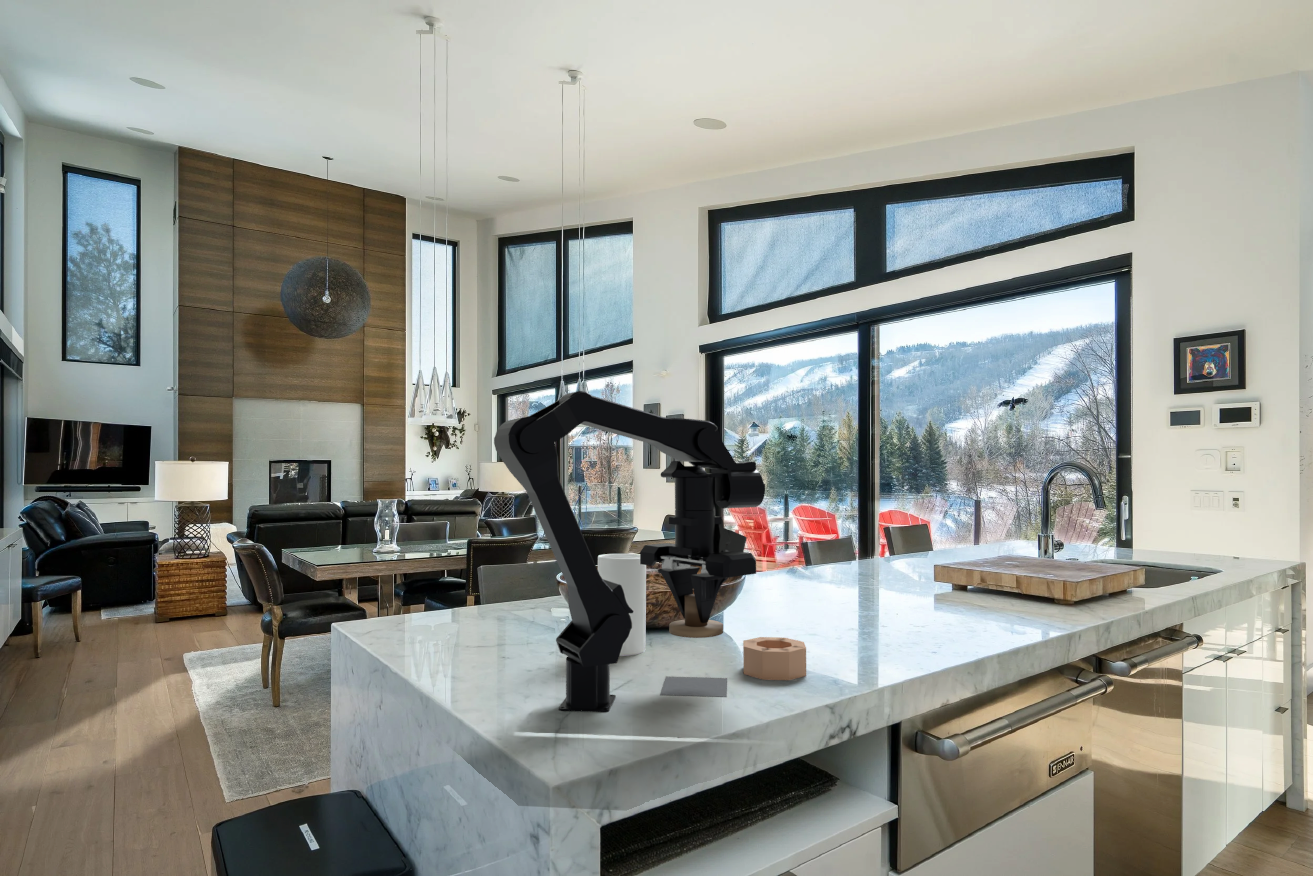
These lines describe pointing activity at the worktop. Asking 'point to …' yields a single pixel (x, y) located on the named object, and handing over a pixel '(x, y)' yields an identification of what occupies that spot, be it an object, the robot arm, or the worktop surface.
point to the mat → (695, 686)
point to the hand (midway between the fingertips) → (695, 620)
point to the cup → (629, 594)
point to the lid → (694, 623)
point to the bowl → (774, 658)
